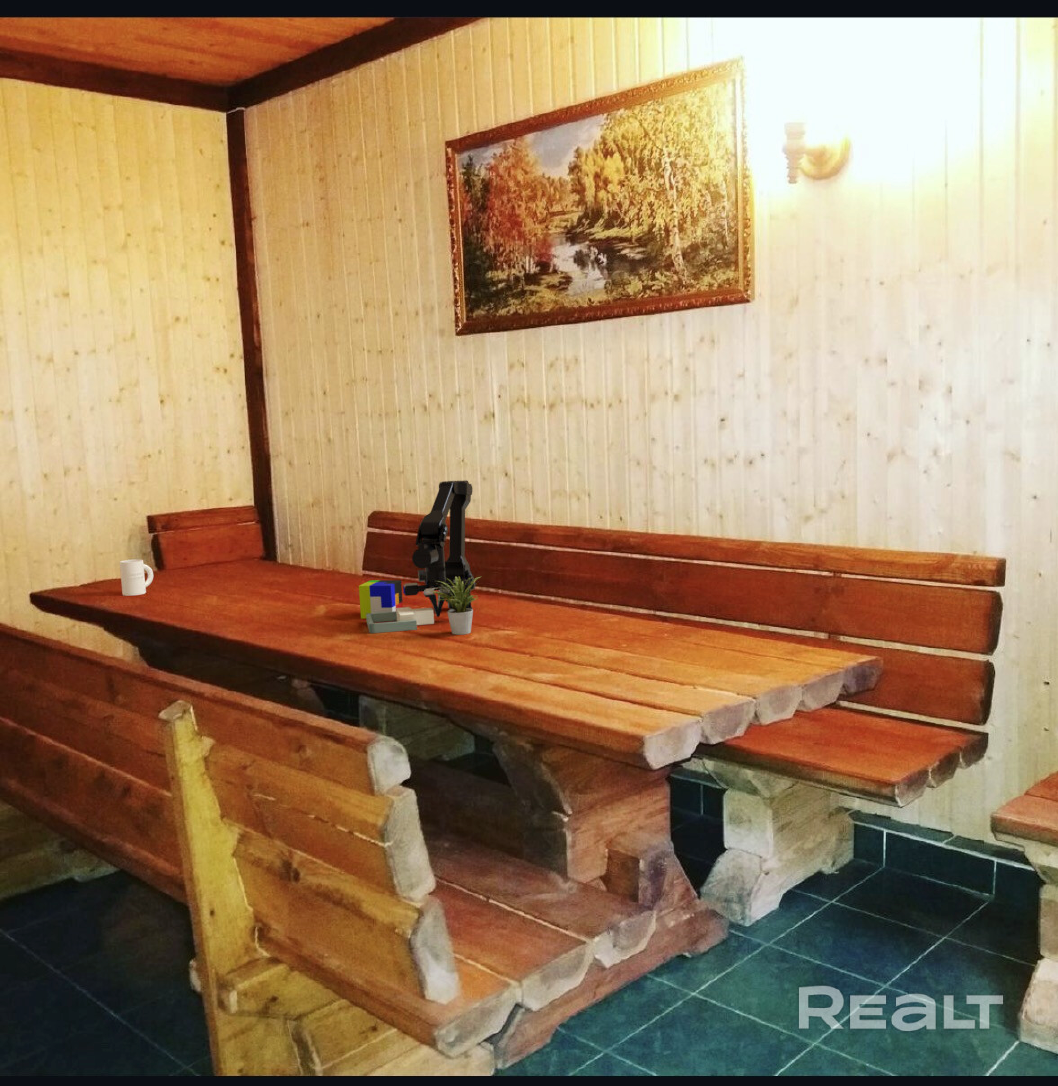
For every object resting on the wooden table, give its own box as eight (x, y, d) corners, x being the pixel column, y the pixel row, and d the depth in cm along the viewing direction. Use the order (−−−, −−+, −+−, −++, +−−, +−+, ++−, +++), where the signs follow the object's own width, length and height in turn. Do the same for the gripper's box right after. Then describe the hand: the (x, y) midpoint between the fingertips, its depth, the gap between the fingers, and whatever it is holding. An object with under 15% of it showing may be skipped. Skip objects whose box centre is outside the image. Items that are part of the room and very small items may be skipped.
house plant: (466, 624, 317) (463, 568, 315) (499, 630, 307) (496, 571, 305) (427, 633, 307) (424, 574, 305) (460, 639, 297) (457, 579, 295)
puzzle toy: (392, 618, 332) (390, 585, 330) (360, 618, 334) (358, 585, 333) (403, 612, 341) (401, 580, 340) (372, 612, 343) (370, 580, 342)
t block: (430, 618, 328) (430, 605, 328) (435, 626, 317) (435, 612, 316) (396, 621, 326) (396, 608, 326) (400, 629, 315) (399, 615, 314)
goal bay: (411, 618, 330) (410, 610, 330) (417, 629, 313) (416, 620, 313) (366, 622, 328) (366, 613, 327) (369, 633, 311) (369, 624, 310)
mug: (160, 591, 404) (157, 558, 402) (130, 596, 395) (127, 563, 393) (148, 589, 409) (145, 557, 408) (118, 594, 400) (115, 561, 399)
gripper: (462, 557, 330) (465, 609, 332) (399, 562, 327) (403, 614, 329) (468, 562, 320) (471, 615, 321) (403, 567, 316) (407, 621, 318)
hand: (438, 616), depth 323 cm, fingers closed
